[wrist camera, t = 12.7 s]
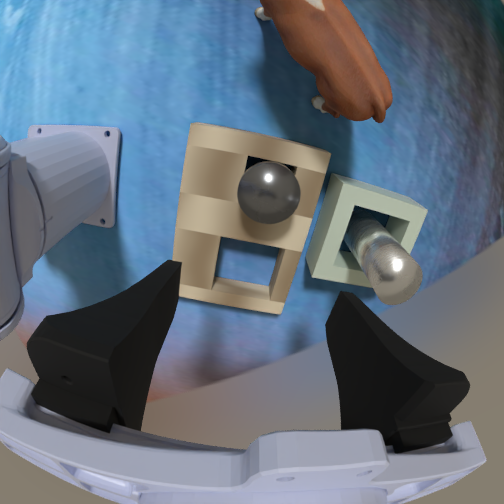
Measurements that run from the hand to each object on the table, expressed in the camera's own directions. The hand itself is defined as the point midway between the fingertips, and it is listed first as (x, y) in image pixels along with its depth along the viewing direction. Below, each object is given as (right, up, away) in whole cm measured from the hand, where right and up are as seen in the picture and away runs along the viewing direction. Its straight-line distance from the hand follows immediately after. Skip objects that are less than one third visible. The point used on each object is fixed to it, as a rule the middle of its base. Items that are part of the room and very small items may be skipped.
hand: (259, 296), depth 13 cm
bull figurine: (+3, +16, +3) cm, 17 cm away
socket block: (0, +4, +9) cm, 10 cm away
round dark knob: (+1, +7, +7) cm, 10 cm away
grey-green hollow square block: (+8, +4, +9) cm, 13 cm away
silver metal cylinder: (+8, +4, +9) cm, 13 cm away
